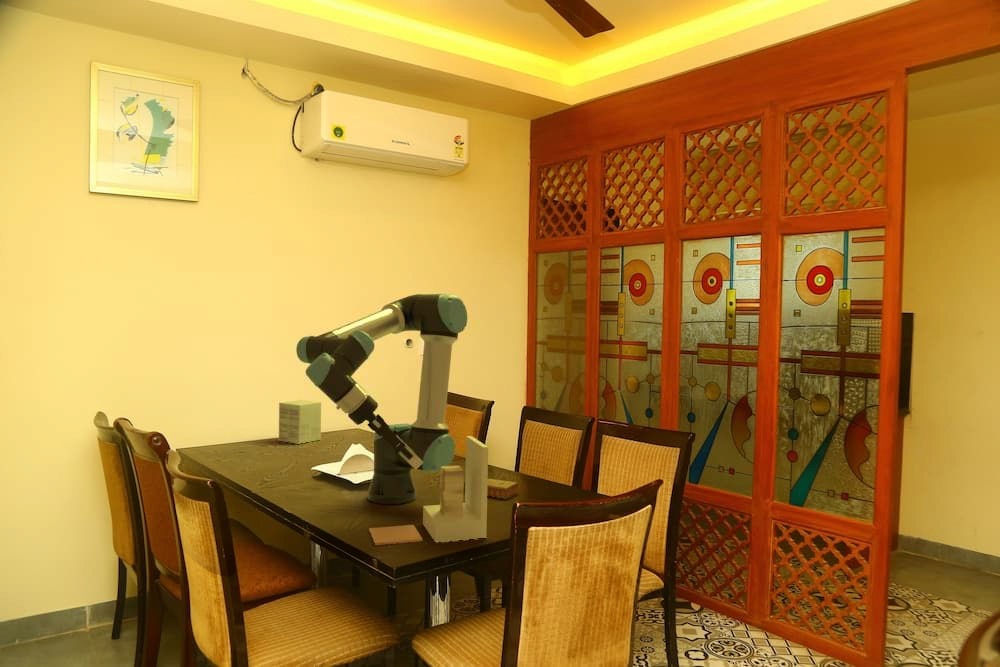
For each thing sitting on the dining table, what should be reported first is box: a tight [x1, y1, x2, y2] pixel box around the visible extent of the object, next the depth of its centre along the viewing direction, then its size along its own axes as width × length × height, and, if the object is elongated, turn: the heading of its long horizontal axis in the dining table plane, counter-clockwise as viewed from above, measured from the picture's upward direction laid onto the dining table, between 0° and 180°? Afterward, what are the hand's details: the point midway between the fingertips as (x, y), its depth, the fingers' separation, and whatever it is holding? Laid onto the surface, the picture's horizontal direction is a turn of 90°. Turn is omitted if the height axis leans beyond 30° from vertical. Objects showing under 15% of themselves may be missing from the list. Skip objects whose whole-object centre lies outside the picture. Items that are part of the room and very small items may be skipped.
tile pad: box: [368, 524, 424, 546], centre depth 175 cm, size 12×12×1 cm
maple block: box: [439, 465, 465, 516], centre depth 179 cm, size 6×5×12 cm
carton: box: [463, 477, 519, 499], centre depth 219 cm, size 8×16×4 cm, turn 62°
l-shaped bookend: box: [422, 435, 489, 544], centre depth 179 cm, size 16×14×24 cm
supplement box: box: [278, 399, 322, 445], centre depth 299 cm, size 13×13×18 cm
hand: (414, 460), depth 176 cm, fingers open, 13 cm apart
